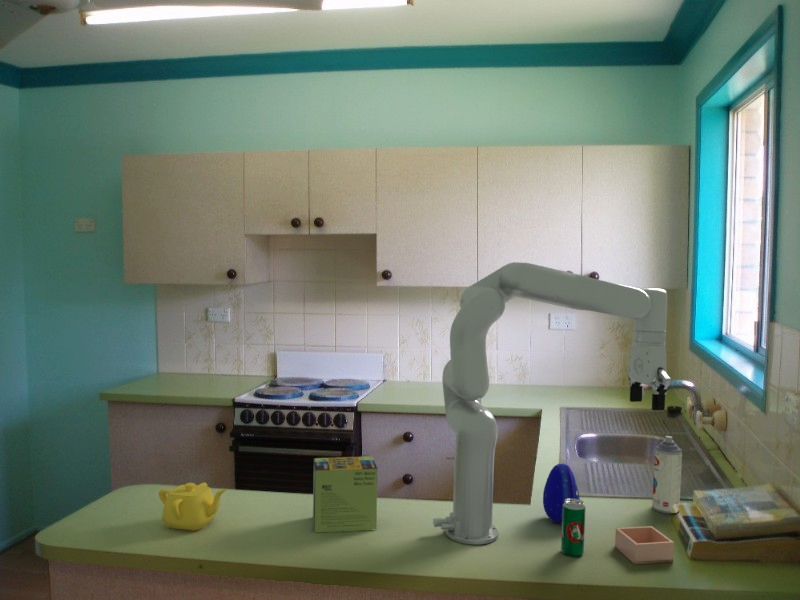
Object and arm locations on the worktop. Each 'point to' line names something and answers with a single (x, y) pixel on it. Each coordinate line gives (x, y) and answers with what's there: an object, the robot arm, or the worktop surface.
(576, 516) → the soda can
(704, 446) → the worktop surface
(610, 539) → the worktop surface
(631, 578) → the worktop surface
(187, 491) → the teapot
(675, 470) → the aerosol can
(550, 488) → the ornament
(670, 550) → the box
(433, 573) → the worktop surface
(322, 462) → the protein box
